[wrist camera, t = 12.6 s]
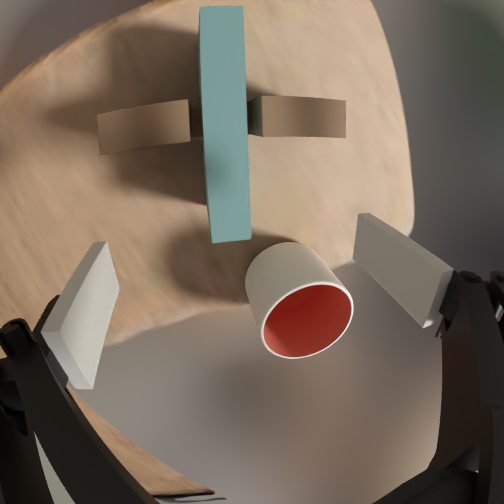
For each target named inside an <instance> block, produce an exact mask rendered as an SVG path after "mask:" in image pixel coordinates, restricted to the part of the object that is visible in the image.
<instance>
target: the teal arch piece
mask: <svg viewBox="0 0 504 504" xmlns="http://www.w3.org/2000/svg"><path fill="white" fill-rule="evenodd" d="M198 65H199V94H200V100H201V117H202V135H203V146H202V150H203V164H204V178H205V190H206V202H207V211H208V218H209V225H210V232H211V238H212V243H220V242H229V241H239V240H248V239H251V215H250V187H249V159H248V131H247V103H246V75H245V47H244V19H243V6H206V7H200V12H199V31H198Z"/></svg>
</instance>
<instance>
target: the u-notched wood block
mask: <svg viewBox="0 0 504 504" xmlns="http://www.w3.org/2000/svg"><path fill="white" fill-rule="evenodd" d="M246 103H247V131H248V134H251V135H256V136H261V137H283V136H296V137H334V138H345V137H346V101H343V100H334V99H324V98H311V97H294V96H260V97H257V98H255V99H252V100H250V101H248V102H246ZM97 127H98V138H99V148H100V155H105V154H110V153H116V152H121V151H126V150H132V149H138V148H145V147H151V146H158V145H166V144H174V143H182V142H190V141H191V138H197V137H203V135H202V117H201V104H195V105H190V104H189V101H188V99H186V100H177V101H169V102H161V103H154V104H148V105H142V106H136V107H130V108H125V109H120V110H115V111H111V112H106V113H102V114H97Z"/></svg>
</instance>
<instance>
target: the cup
mask: <svg viewBox="0 0 504 504" xmlns="http://www.w3.org/2000/svg"><path fill="white" fill-rule="evenodd" d="M245 289H246V293H247V296H248V300H249V303H250V306H251V309H252V312H253V315H254V319H255V322H256V325H257V328H258V331H259V334H260V338H261V340H262V342H263V344H264V346H265V347H266V348H267V349H268V350H269V351H270V352H271V353H273V354H275V355H277V356H280V357H284V358H303V357H307V356H311V355H314V354H317V353H319V352H321V351H323V350H325V349H326V348H328V347H329V346H331V345H332V344H333V343H335V342H336V341H337V340H338V339H339V338H340V337H341V336H342V335H343V333H344V332H345V331H346V329H347V327H348V326H349V323H350V321H351V319H352V315H353V300H352V298H351V295H350V293H349V292H348V291H347V290H346V288H345V287H344V286H343V285H342V283H341V282H340V281H339V280H338V279H337V277H336V276H335V275H334V274H333V273H332V271H331V270H330V269H329V268H328V267H327V266H326V264H325V263H324V262H323V261H322V260H321V258H320V257H319V256H318V255H317V254H316V253H315V252H314V251H313V250H312V249H311V248H309V247H307V246H305V245H303V244H300V243H295V242H284V243H279V244H275V245H273V246H270V247H268V248H267V249H265V250H263V251H262V252H261V253H260V254H258V255H257V256H256V258H255V259H254V260H253V261H252V263H251V264H250V266H249V268H248V270H247V273H246V277H245Z"/></svg>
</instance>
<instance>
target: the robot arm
mask: <svg viewBox="0 0 504 504" xmlns="http://www.w3.org/2000/svg"><path fill="white" fill-rule="evenodd" d="M353 259H354V260H355V261H356V262H357V263H358V264H359V265H360V266H361V267H363V268H364V270H365V271H367V272H368V273H369V274H370V275H371V276H372V277H373V278H374V279H375V280H376V281H377V282H378V283H379V284H380V285H381V286H382V287H383V288H384V289H385V290H386V291H387V292H388V293H389V294H390V295H391V296H392V297H393V298H394V299H395V300H396V301H397V302H398V303H399V304H400V305H401V306H402V307H403V308H404V309H405V310H406V311H407V312H408V313H409V314H410V315H411V316H412V317H413V318H414V319H415V320H416V321H417V322H418V323H419V324H420V325H421V327H423V328H424V327H427V326H429V325H432V324H434V323H435V320H436V318H437V315H438V313H439V312H440V313H441V314H442V315H443V318H442V320H441V323H440V325H439V328H438V330H437V332H436V335H435V337H437V336H438V334H439V333H440V332H441V336H440V338H442V401H441V415H440V426H439V435H438V442H437V449H436V453H435V455H434V457H433V459H432V460H431V462H430V464H429V466H428V468H427V469H426V470H425V471H423V472H422V473H420V474H418V475H417V476H415V477H413V478H412V479H410V480H408V481H406V482H405V483H403V484H401V485H400V486H398V487H397V488H396V489H394V490H393V491H391V492H390V493H388V494H387V495H385V496H384V497H382V498H381V499H379V500H377V501H376V502H374V503H372V504H504V313H503V315H502V317H501V319H500V321H499V322H498V321H497V319H496V318H497V316H498V314H499V312H500V310H501V308H503V310H504V273H503V272H501V271H492V272H491V273H490V275H489V278H488V281H483V280H482V279H481V278H480V277H479V276H478V275H476V274H475V273H473V272H469V271H461V272H459V273H457V272H456V271H455V270H454V269H453V268H451V267H450V266H449V265H447V264H446V263H444V262H443V261H442V260H440V259H439V258H437V257H436V256H435V255H433V254H432V253H430V252H429V251H427V250H426V249H424V248H423V247H422V246H420V245H419V244H417V243H416V242H414V241H413V240H411V239H410V238H408V237H407V236H405V235H404V234H402V233H401V232H399V231H397V230H396V229H394V228H393V227H391V226H390V225H388V224H386V223H385V222H383V221H382V220H380V219H378V218H377V217H375V216H373V215H372V214H370V213H362V214H358V220H357V229H356V237H355V245H354V252H353ZM119 290H120V288H119V284H118V281H117V278H116V274H115V271H114V267H113V263H112V259H111V256H110V252H109V248H108V244H107V241H103V242H97V243H93V244H92V246H91V247H90V249H89V250H88V252H87V253H86V255H85V256H84V258H83V259H82V261H81V262H80V264H79V265H78V267H77V268H76V270H75V272H74V273H73V275H72V276H71V278H70V280H69V281H68V283H67V285H66V286H65V288H64V290H63V291H62V293H61V295H56V296H55V297H54V298H53V299H52V300H51V301H50V302H49V303H48V305H47V306H46V308H45V310H44V312H43V313H42V315H41V319H39V321H38V323H37V324H36V326H35V328H34V330H33V332H32V331H31V330H30V328H29V326H28V324H27V322H26V321H25V320H24V319H21V318H18V319H13V320H11V321H9V322H7V323H6V324H5V325H3V326H2V328H1V329H0V346H1V347H2V349H3V351H4V352H5V354H6V355H7V357H6V358H2V359H0V504H54V502H53V499H52V497H51V494H50V491H49V488H48V485H47V482H46V478H45V476H44V472H43V468H42V465H41V461H40V457H39V453H38V448H37V444H36V439H35V434H36V436H37V438H38V440H39V442H40V444H41V446H42V448H43V450H44V452H45V454H46V456H47V458H48V460H49V462H50V463H51V465H52V467H53V469H54V470H55V472H56V474H57V476H58V477H59V479H60V481H61V482H62V484H63V486H64V487H65V489H66V490H67V492H68V493H69V495H70V496H71V498H72V499H73V501H74V502H75V504H160V503H159V502H157V501H156V500H155V499H154V498H153V497H152V496H151V495H150V494H149V493H148V492H147V491H146V490H145V489H144V488H143V487H142V486H141V485H140V484H139V483H138V482H137V481H136V479H135V478H134V477H133V476H132V475H131V474H130V473H129V472H128V471H127V470H126V468H125V467H124V466H123V465H122V464H121V463H120V462H119V460H118V459H117V458H116V457H115V456H114V454H113V453H112V452H111V451H110V449H109V448H108V447H107V446H106V444H105V443H104V442H103V440H102V439H101V438H100V437H99V435H98V434H97V432H96V431H95V430H94V428H93V427H92V426H91V424H90V423H89V421H88V420H87V418H86V417H85V415H84V414H83V412H82V411H81V409H80V408H79V406H78V405H77V403H76V402H75V400H74V398H73V397H72V395H71V393H70V392H69V390H68V389H67V388H66V385H67V381H68V379H69V380H70V382H71V383H72V385H73V386H74V387H75V389H93V385H94V381H95V376H96V372H97V367H98V363H99V359H100V355H101V351H102V347H103V343H104V340H105V336H106V332H107V329H108V325H109V322H110V319H111V315H112V312H113V309H114V305H115V302H116V299H117V296H118V293H119ZM34 431H35V434H34ZM477 470H478V473H477V472H476V471H477Z"/></svg>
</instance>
